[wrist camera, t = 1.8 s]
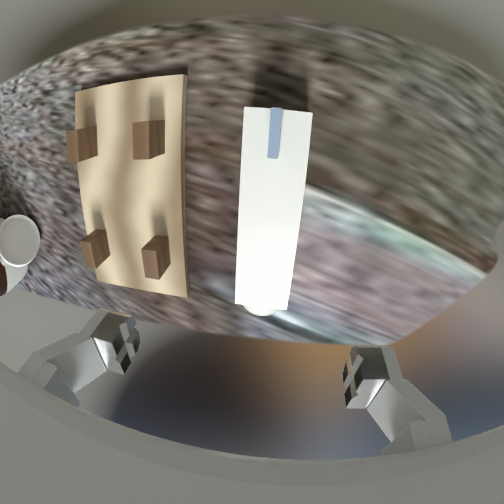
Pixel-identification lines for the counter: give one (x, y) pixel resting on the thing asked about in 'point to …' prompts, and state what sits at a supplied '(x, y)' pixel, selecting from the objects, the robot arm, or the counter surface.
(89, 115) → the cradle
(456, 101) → the counter surface
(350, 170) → the counter surface
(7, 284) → the spread jar
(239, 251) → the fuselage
